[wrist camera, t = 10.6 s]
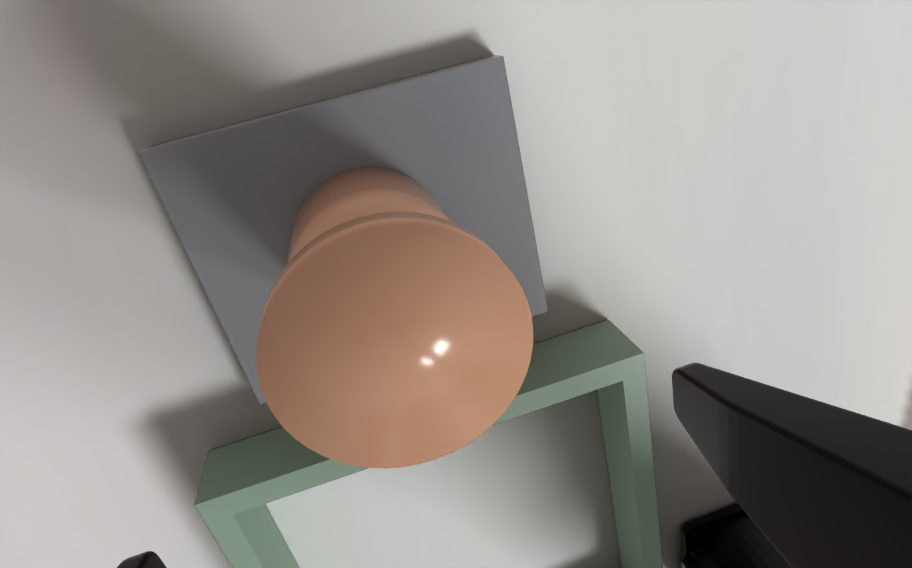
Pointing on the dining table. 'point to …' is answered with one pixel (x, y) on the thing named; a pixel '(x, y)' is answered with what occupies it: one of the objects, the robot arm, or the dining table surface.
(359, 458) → the peach mushroom knob
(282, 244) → the slate tile
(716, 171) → the dining table surface
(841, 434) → the robot arm
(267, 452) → the cold frame
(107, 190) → the dining table surface
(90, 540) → the dining table surface
